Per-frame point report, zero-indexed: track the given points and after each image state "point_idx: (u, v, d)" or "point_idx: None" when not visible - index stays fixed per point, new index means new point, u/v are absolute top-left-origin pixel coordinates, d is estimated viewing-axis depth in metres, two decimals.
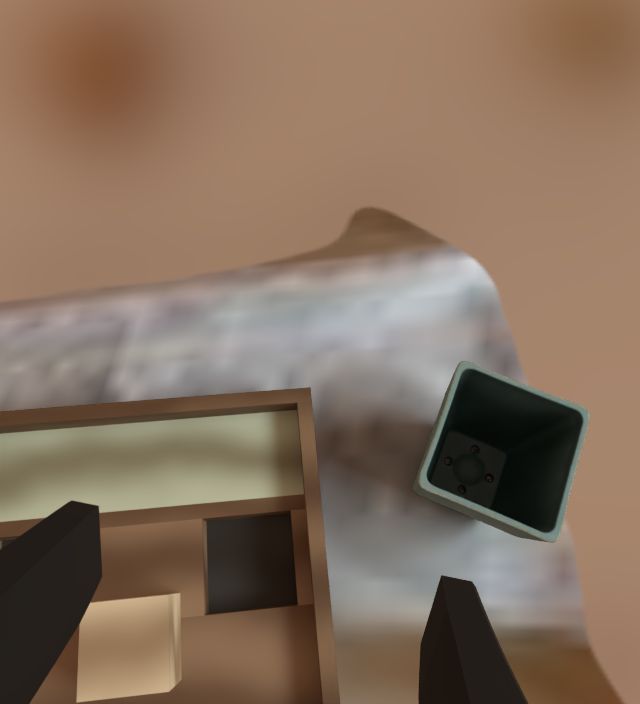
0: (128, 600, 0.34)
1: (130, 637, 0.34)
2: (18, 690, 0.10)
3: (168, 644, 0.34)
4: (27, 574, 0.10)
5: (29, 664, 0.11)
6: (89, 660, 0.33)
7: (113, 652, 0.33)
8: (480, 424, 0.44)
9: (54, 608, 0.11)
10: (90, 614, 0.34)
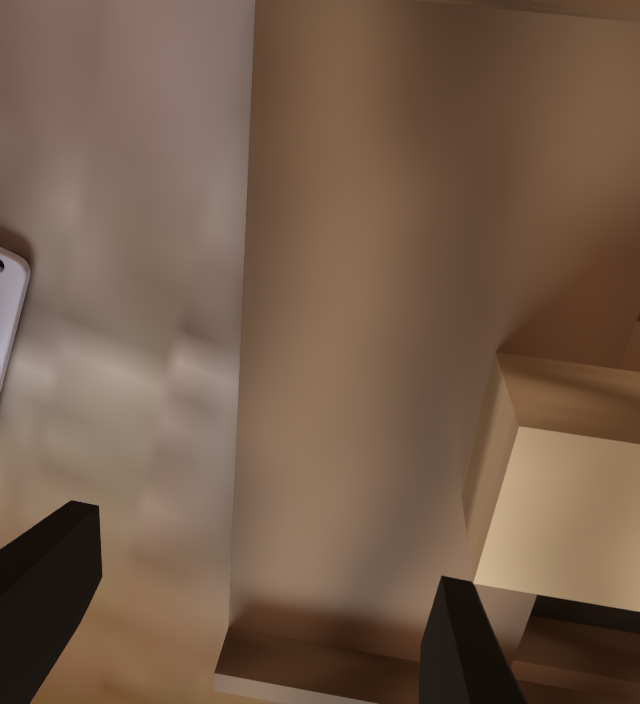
0: None
1: (611, 540, 0.15)
2: (18, 690, 0.10)
3: (563, 595, 0.16)
4: (27, 574, 0.10)
5: (29, 664, 0.11)
6: (601, 462, 0.14)
7: (595, 508, 0.14)
8: None
9: (54, 608, 0.11)
10: None
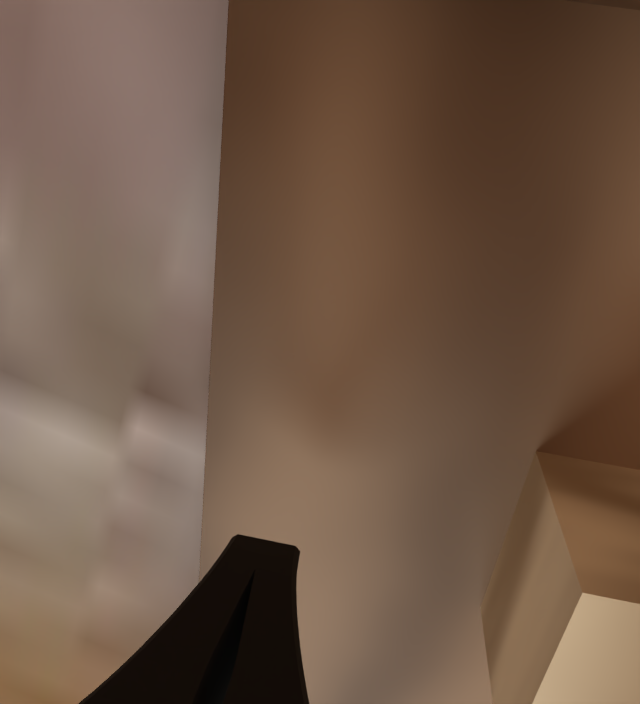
0: None
1: None
2: None
3: None
4: (230, 617, 0.10)
5: None
6: None
7: None
8: None
9: (237, 648, 0.11)
10: None
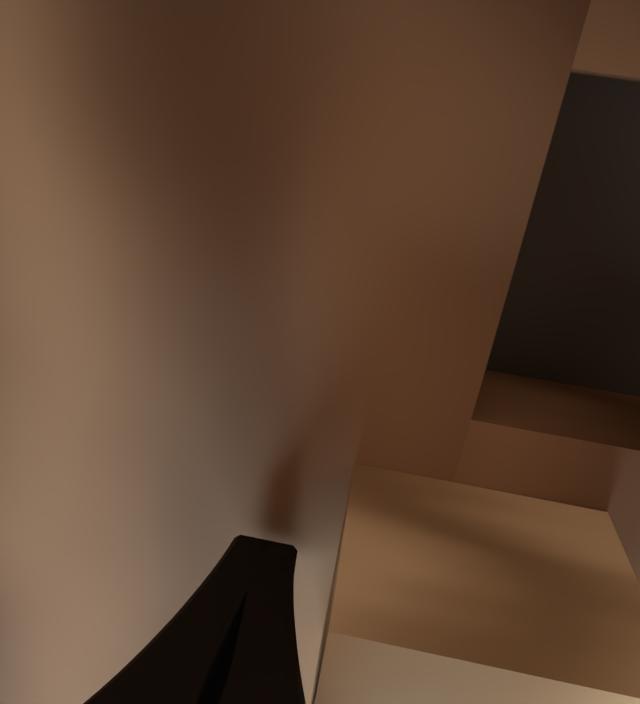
0: None
1: None
2: None
3: None
4: (232, 618, 0.10)
5: None
6: (461, 691, 0.08)
7: None
8: None
9: None
10: None
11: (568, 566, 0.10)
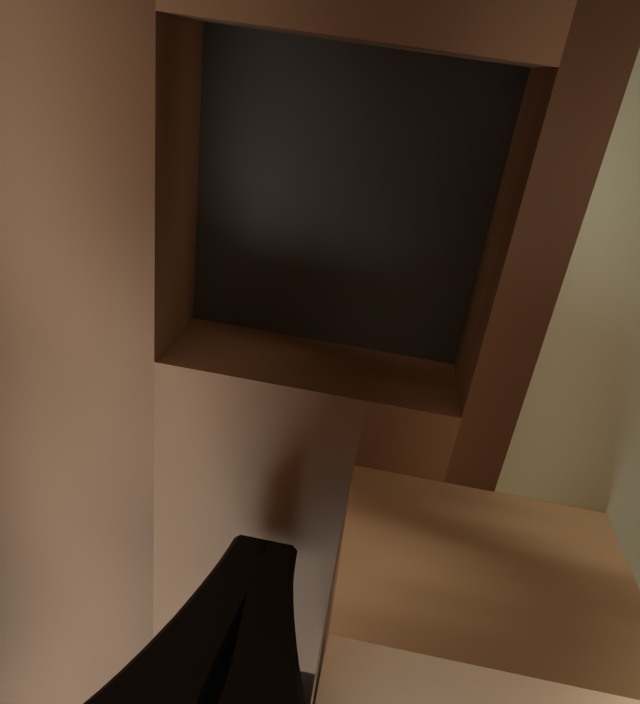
0: None
1: None
2: None
3: None
4: (233, 618, 0.10)
5: None
6: (461, 693, 0.08)
7: None
8: None
9: None
10: None
11: (567, 567, 0.10)
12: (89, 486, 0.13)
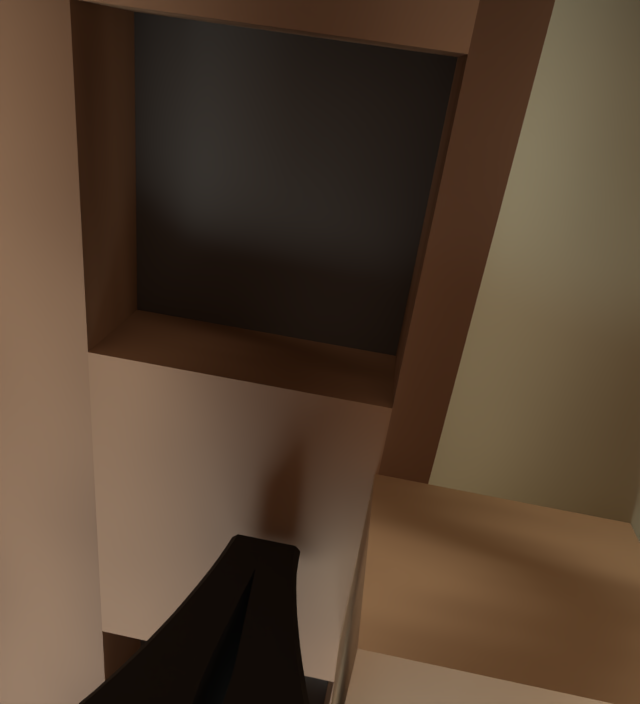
0: None
1: None
2: None
3: None
4: (230, 617, 0.10)
5: None
6: None
7: None
8: None
9: (237, 648, 0.11)
10: None
11: (593, 579, 0.10)
12: (31, 477, 0.13)
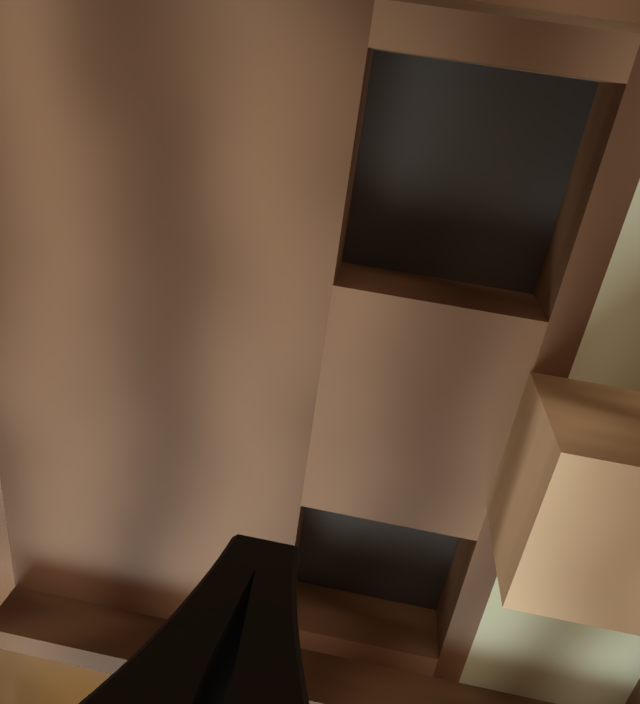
0: None
1: None
2: None
3: (593, 623, 0.15)
4: (230, 617, 0.10)
5: None
6: None
7: (633, 537, 0.14)
8: None
9: (237, 648, 0.11)
10: None
11: None
12: (270, 382, 0.18)
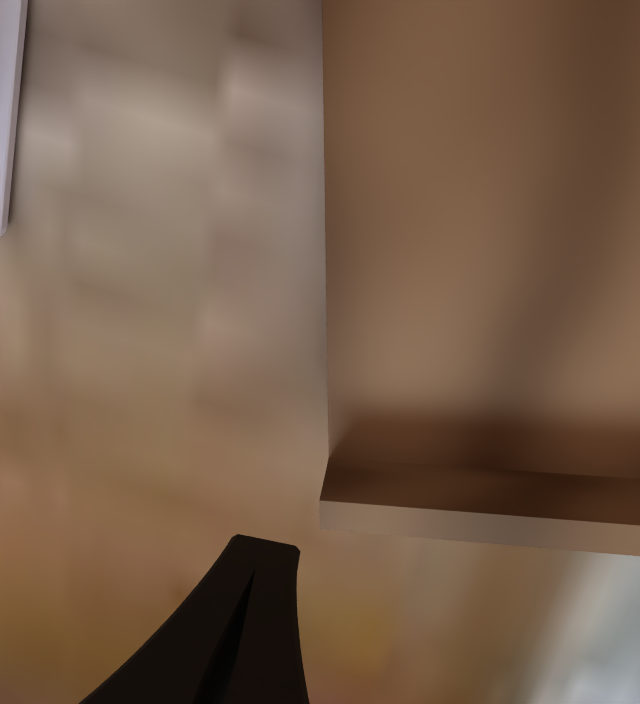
0: None
1: None
2: None
3: None
4: (229, 617, 0.10)
5: None
6: None
7: None
8: None
9: (237, 648, 0.11)
10: None
11: None
12: None
